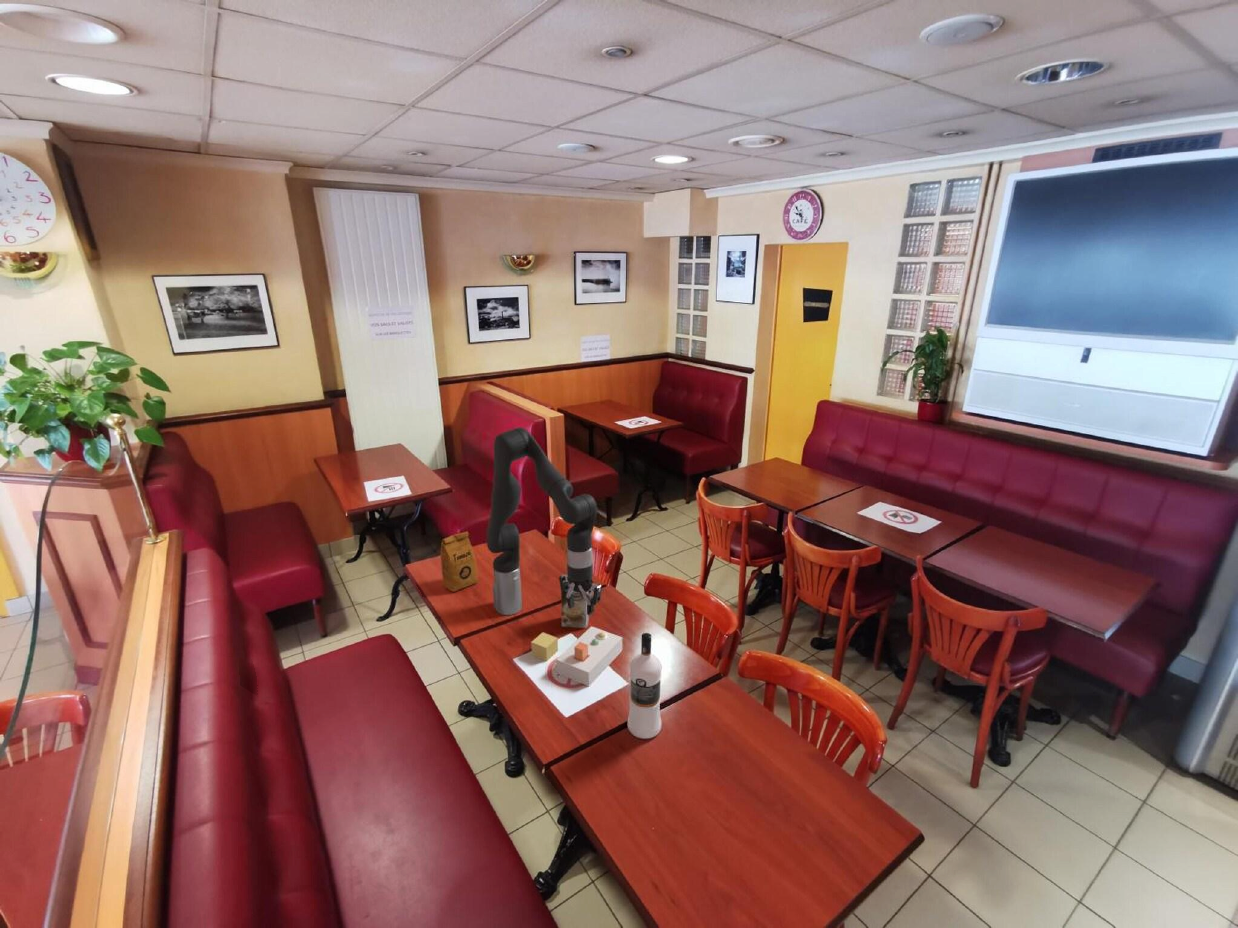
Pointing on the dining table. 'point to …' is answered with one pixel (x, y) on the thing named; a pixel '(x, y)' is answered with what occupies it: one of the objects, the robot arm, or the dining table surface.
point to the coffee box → (574, 611)
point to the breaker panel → (590, 656)
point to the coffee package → (458, 562)
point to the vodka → (645, 692)
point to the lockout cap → (544, 646)
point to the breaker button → (581, 651)
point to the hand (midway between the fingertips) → (580, 610)
